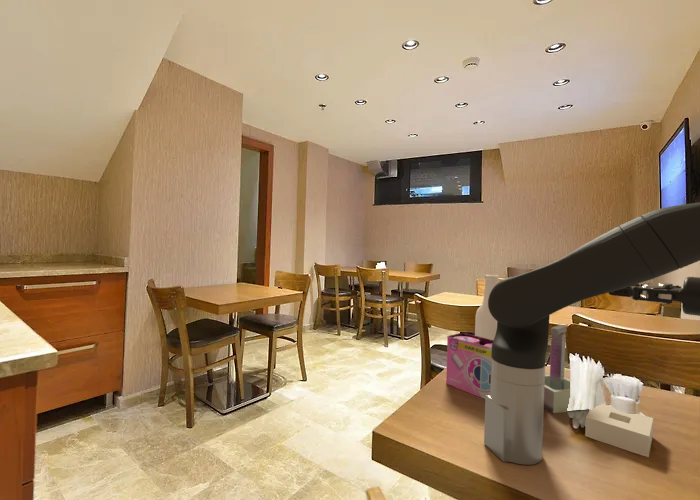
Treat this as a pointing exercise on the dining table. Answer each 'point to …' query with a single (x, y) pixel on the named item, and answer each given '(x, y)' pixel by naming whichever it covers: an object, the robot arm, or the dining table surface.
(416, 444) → the dining table surface
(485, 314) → the alcohol
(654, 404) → the dining table surface
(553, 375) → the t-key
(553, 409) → the bin
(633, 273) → the robot arm
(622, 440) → the key block
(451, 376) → the gum box
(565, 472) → the dining table surface
